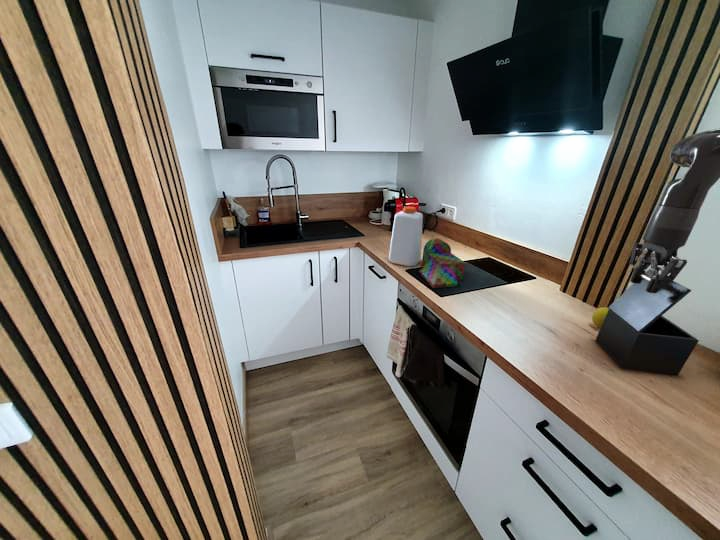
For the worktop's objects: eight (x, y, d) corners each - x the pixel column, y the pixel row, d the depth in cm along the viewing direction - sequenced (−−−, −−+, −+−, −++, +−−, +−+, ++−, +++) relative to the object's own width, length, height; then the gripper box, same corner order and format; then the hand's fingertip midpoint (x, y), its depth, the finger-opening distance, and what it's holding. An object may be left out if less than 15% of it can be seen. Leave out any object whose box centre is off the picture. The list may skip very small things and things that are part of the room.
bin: (643, 346, 88) (660, 314, 83) (677, 376, 77) (699, 340, 72) (594, 341, 90) (608, 309, 85) (621, 369, 79) (639, 333, 74)
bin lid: (651, 270, 79) (636, 261, 79) (692, 290, 68) (674, 280, 68) (610, 308, 85) (596, 300, 85) (641, 333, 74) (624, 324, 74)
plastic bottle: (422, 258, 153) (428, 206, 142) (414, 268, 141) (420, 212, 130) (395, 253, 159) (399, 203, 148) (385, 262, 147) (389, 208, 136)
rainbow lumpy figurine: (411, 265, 144) (414, 238, 138) (442, 263, 147) (446, 237, 142) (433, 287, 122) (437, 256, 116) (468, 285, 125) (475, 255, 119)
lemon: (606, 325, 98) (615, 305, 95) (611, 334, 94) (620, 313, 91) (586, 321, 101) (594, 301, 97) (591, 329, 96) (599, 309, 93)
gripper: (717, 233, 62) (682, 301, 68) (664, 218, 75) (639, 277, 81) (677, 231, 63) (646, 299, 70) (632, 217, 76) (609, 275, 82)
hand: (642, 287), depth 75 cm, fingers closed on bin lid, 5 cm apart
